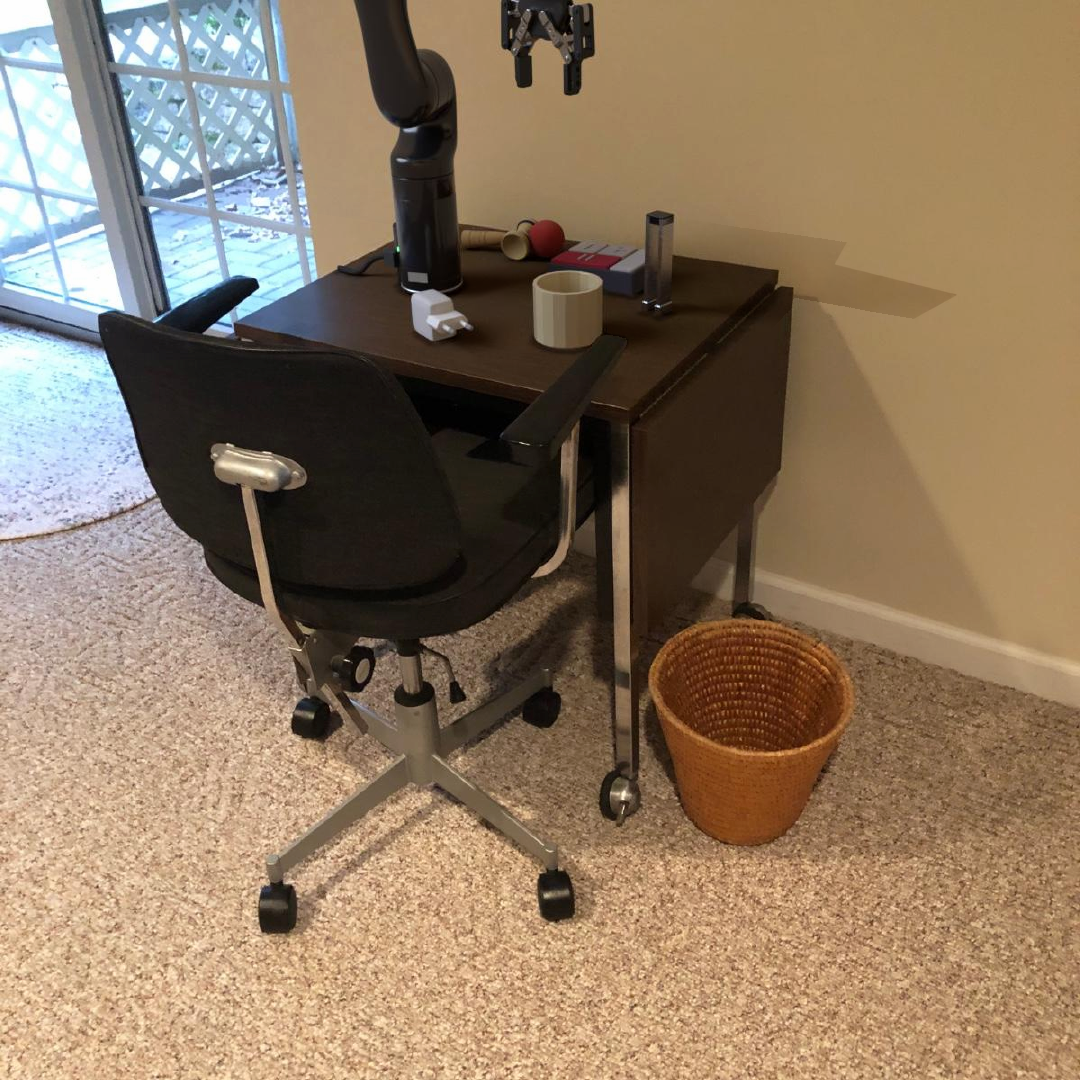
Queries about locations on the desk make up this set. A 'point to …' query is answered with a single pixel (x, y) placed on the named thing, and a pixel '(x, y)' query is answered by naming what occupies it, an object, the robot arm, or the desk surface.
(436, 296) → the power adapter
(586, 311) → the crock
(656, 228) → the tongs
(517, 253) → the kendama
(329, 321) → the desk surface
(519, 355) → the desk surface
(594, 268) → the calculator
